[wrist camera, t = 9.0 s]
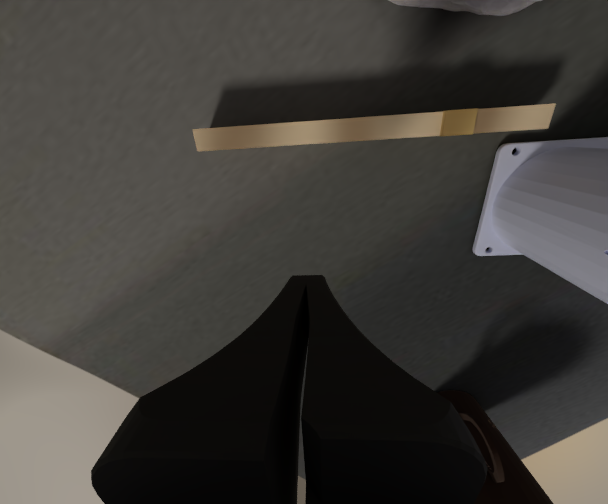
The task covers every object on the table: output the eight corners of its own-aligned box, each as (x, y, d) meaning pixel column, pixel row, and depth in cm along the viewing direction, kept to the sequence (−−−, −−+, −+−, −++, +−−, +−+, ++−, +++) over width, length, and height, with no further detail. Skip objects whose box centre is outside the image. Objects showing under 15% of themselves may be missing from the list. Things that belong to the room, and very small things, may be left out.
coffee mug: (466, 436, 30) (530, 566, 21) (396, 426, 30) (431, 553, 21) (518, 370, 25) (632, 503, 16) (435, 356, 25) (503, 484, 16)
